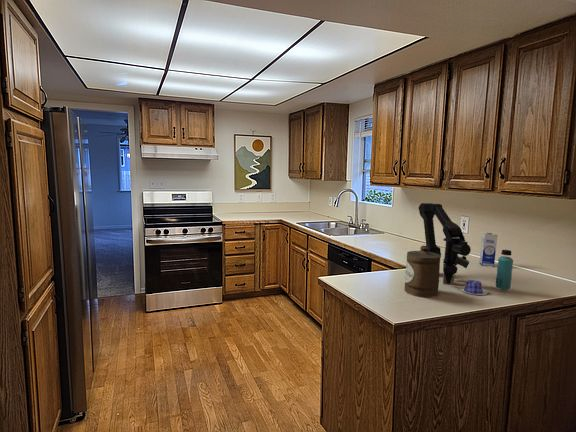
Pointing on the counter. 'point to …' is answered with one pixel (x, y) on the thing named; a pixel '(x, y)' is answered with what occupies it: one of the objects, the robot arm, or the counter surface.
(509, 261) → the beverage bottle
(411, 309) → the counter surface
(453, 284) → the walnut block
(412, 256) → the wooden container
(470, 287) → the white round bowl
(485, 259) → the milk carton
